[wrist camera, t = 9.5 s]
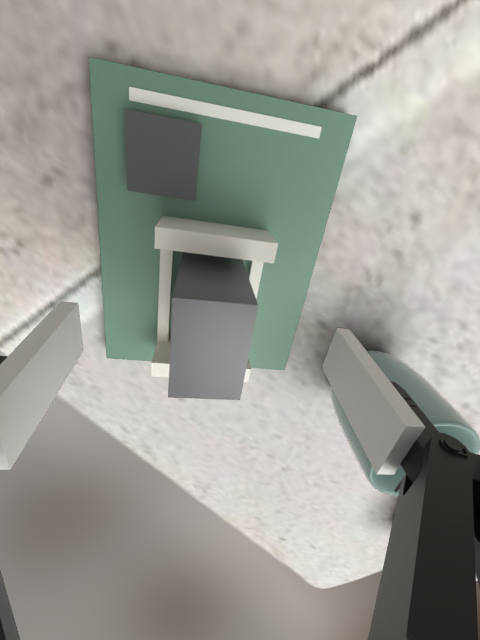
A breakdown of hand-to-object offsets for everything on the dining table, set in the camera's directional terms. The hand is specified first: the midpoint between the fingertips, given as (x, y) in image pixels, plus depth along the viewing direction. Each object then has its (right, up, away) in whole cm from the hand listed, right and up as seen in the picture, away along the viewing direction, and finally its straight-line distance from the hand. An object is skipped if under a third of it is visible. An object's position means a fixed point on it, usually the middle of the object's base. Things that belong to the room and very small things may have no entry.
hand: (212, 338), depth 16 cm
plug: (-1, +3, +7) cm, 7 cm away
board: (-1, +6, +6) cm, 9 cm away
